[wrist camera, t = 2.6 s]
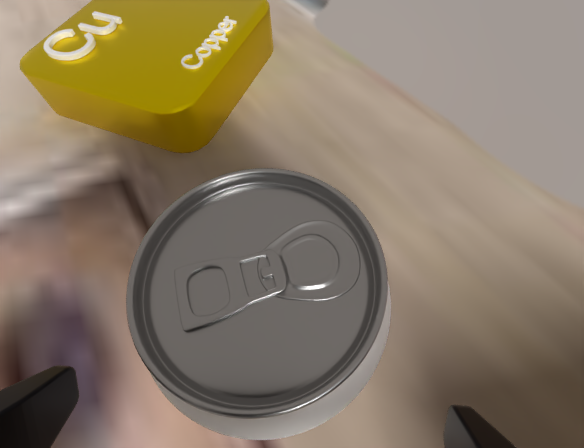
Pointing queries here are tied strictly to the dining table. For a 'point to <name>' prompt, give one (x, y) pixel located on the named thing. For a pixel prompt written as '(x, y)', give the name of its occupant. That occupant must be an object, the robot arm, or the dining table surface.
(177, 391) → the can
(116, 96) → the element tile
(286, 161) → the dining table surface
